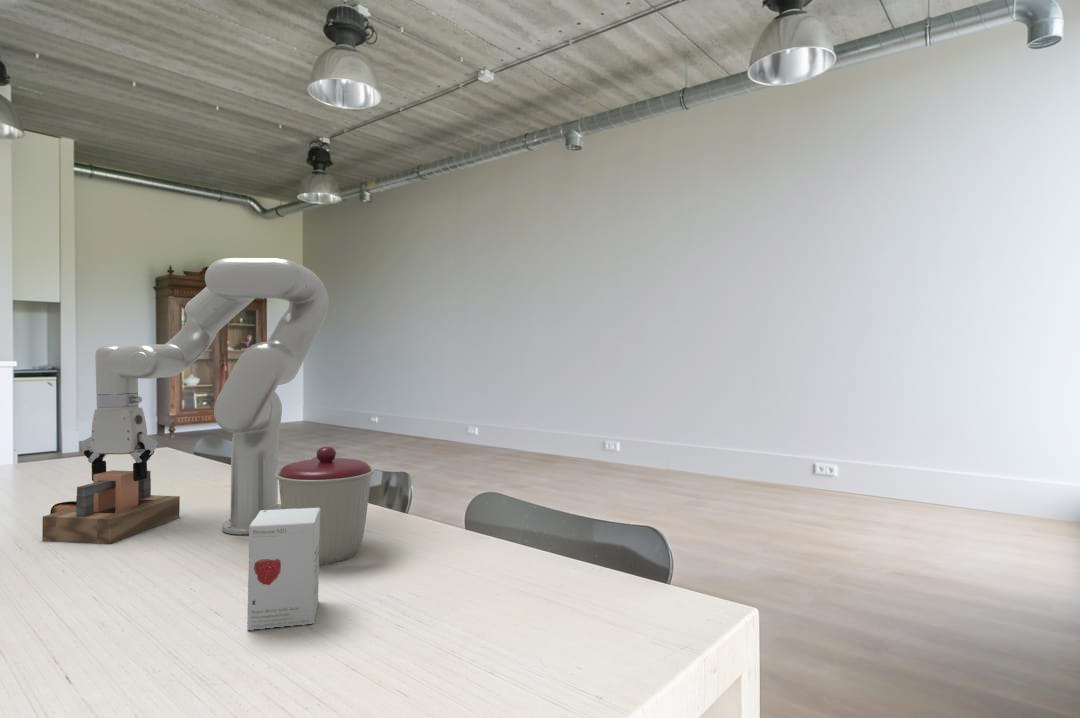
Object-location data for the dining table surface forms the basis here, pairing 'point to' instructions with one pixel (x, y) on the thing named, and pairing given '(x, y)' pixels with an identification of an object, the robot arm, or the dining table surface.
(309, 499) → the canister
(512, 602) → the dining table surface
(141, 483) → the wooden rectangular frame
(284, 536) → the supplement box
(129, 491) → the pink u-channel block
